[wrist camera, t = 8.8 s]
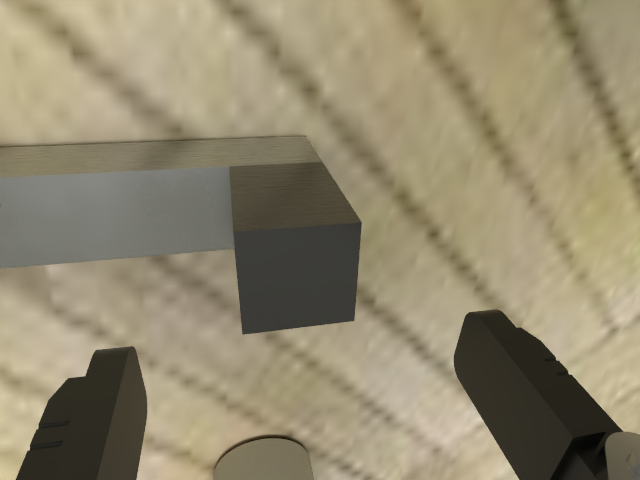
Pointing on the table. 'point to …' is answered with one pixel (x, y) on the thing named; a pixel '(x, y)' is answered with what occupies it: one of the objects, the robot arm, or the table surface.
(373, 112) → the table surface
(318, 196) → the grey l-shaped bracket
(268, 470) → the travel mug
